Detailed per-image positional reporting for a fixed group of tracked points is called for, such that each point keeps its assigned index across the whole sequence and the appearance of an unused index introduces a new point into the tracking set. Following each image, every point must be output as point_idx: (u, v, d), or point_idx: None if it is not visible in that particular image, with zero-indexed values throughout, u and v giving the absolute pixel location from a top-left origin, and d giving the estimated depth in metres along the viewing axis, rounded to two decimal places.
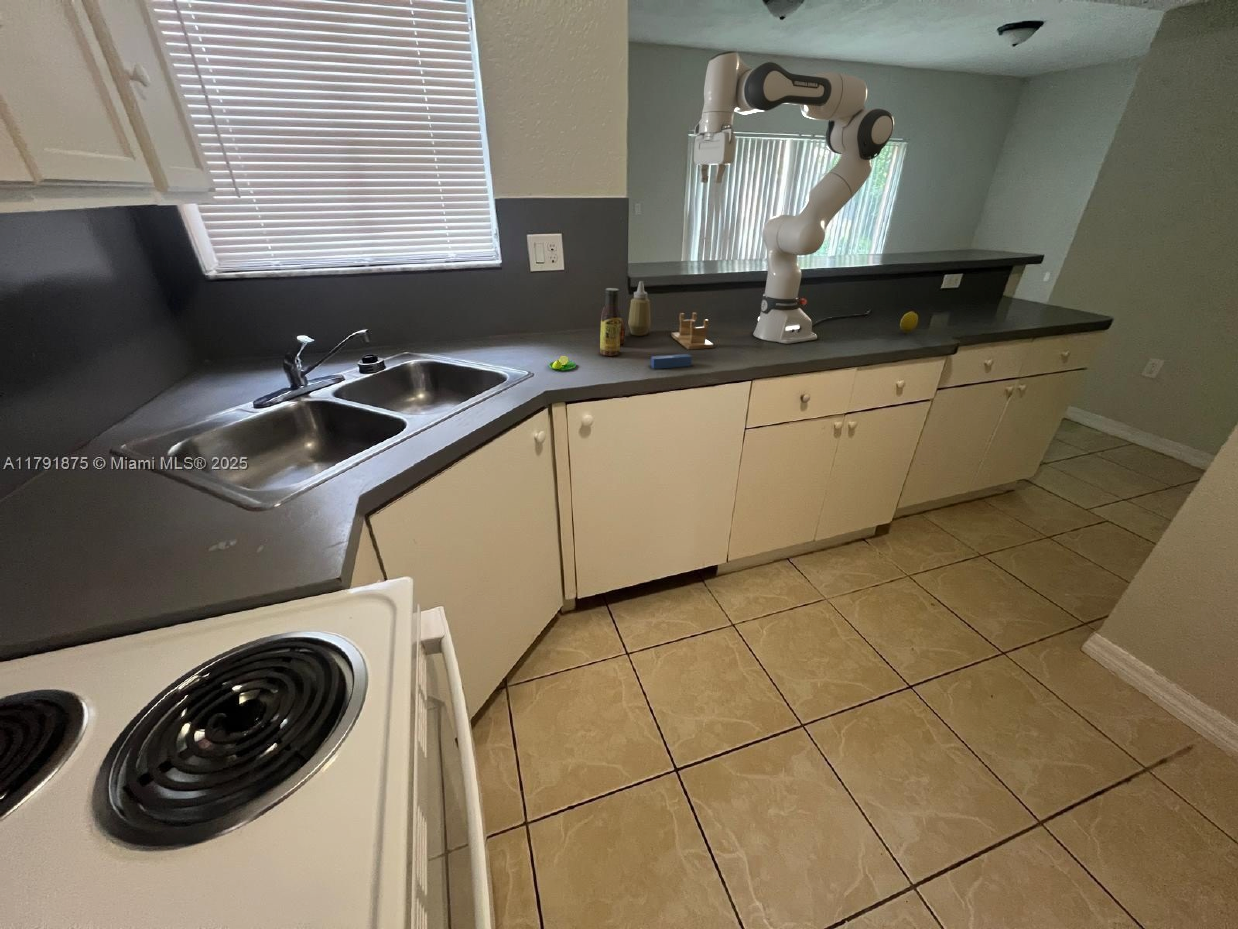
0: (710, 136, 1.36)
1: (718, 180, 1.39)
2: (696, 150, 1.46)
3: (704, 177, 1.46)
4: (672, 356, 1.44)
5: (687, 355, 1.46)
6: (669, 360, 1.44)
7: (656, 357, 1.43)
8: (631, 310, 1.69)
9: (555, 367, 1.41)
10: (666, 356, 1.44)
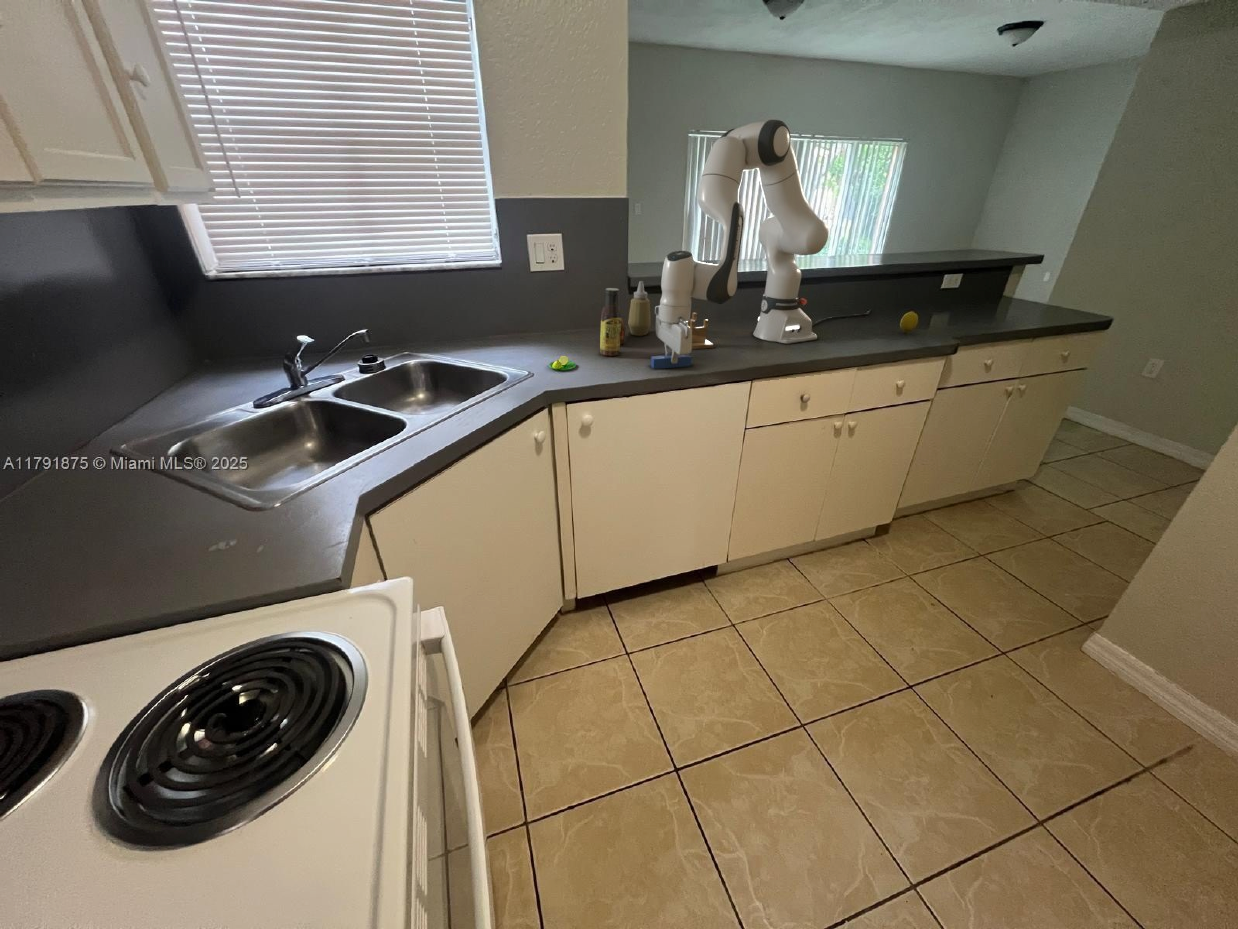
0: (668, 325, 1.37)
1: (674, 361, 1.43)
2: (657, 326, 1.47)
3: None
4: None
5: (687, 355, 1.46)
6: (669, 360, 1.44)
7: (656, 357, 1.43)
8: (631, 310, 1.69)
9: (555, 367, 1.41)
10: (666, 356, 1.44)
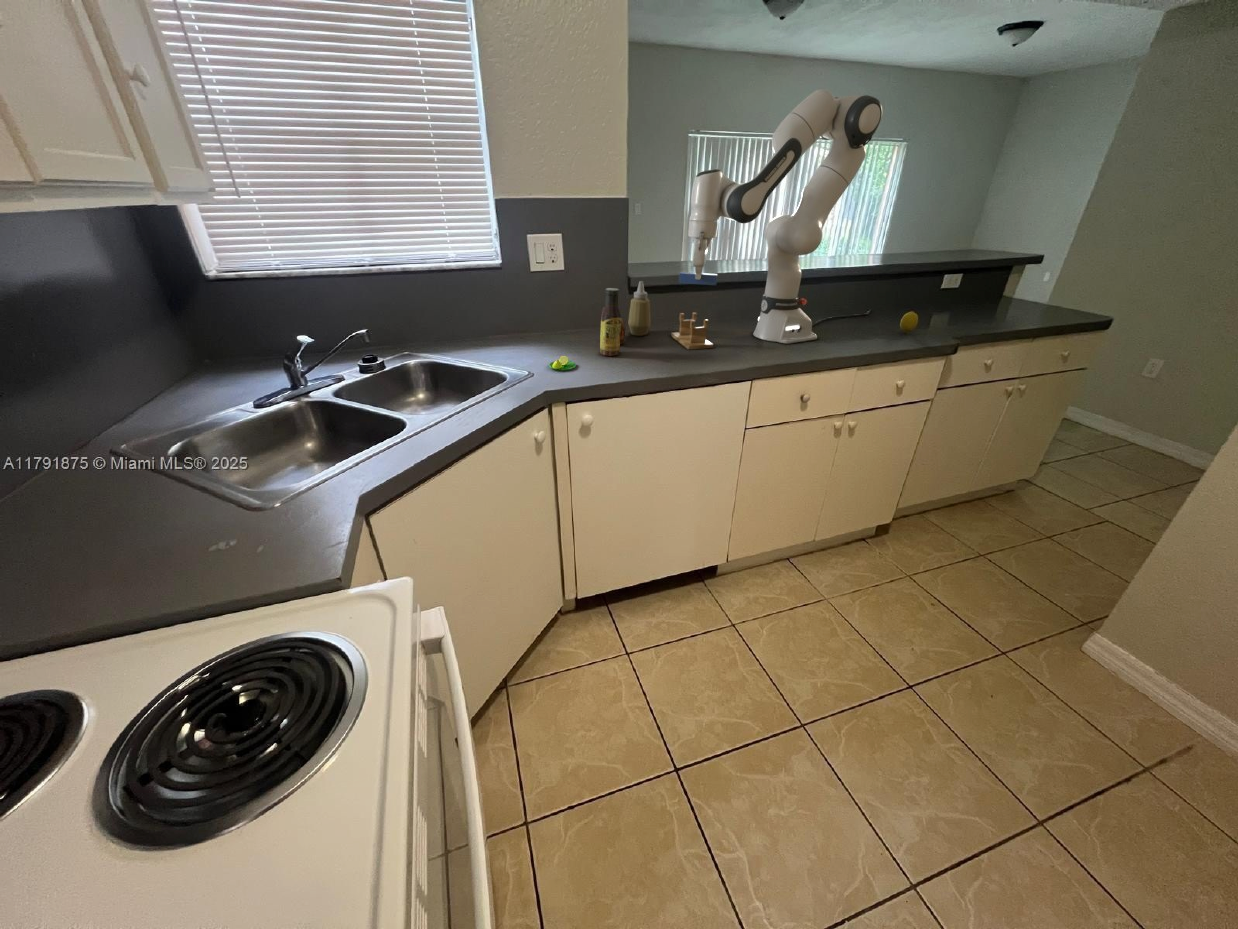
0: (693, 240, 1.50)
1: (697, 277, 1.54)
2: None
3: None
4: None
5: (714, 274, 1.55)
6: (694, 276, 1.56)
7: (683, 272, 1.57)
8: (631, 310, 1.69)
9: (555, 367, 1.41)
10: (693, 273, 1.57)
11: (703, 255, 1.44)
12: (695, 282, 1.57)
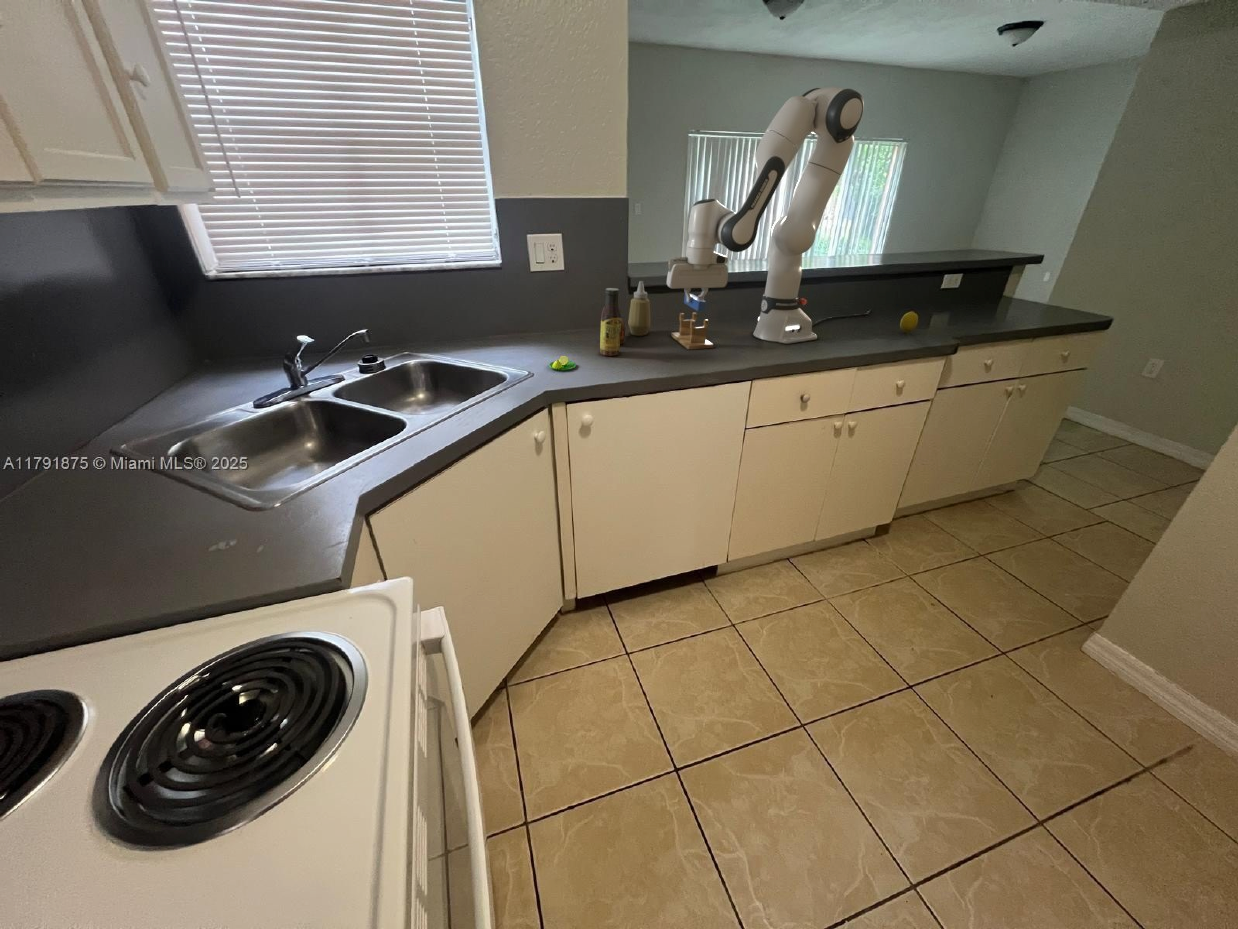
0: None
1: (687, 299, 1.60)
2: None
3: None
4: (694, 297, 1.60)
5: (700, 300, 1.56)
6: None
7: None
8: (631, 310, 1.69)
9: (555, 367, 1.41)
10: (693, 296, 1.62)
11: (670, 277, 1.54)
12: (689, 305, 1.62)
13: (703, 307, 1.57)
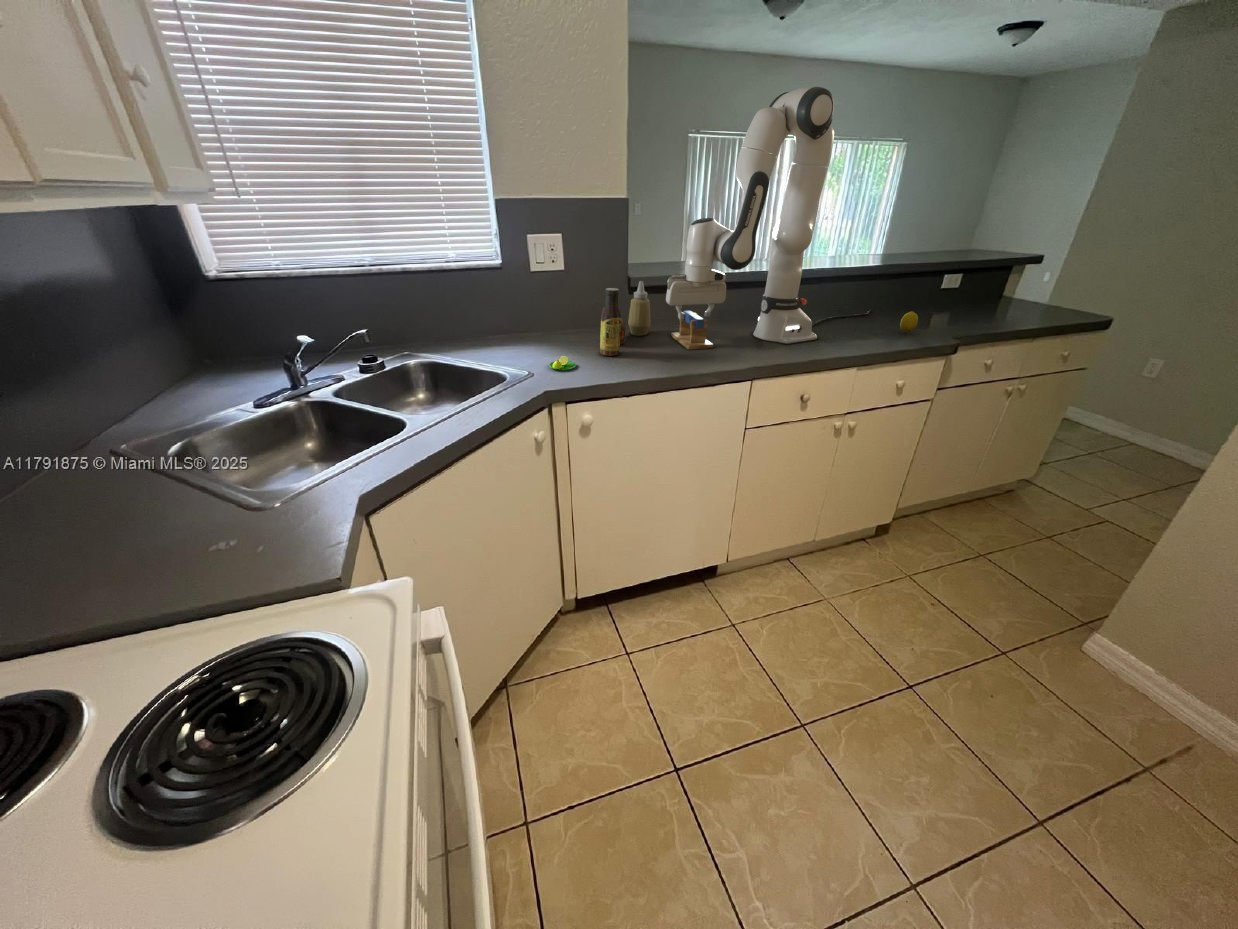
0: None
1: (678, 316, 1.62)
2: None
3: (704, 312, 1.64)
4: (693, 315, 1.63)
5: (699, 318, 1.59)
6: (688, 316, 1.64)
7: (687, 311, 1.67)
8: (631, 310, 1.69)
9: (555, 367, 1.41)
10: (691, 313, 1.65)
11: (669, 294, 1.56)
12: (688, 322, 1.65)
13: (701, 325, 1.60)
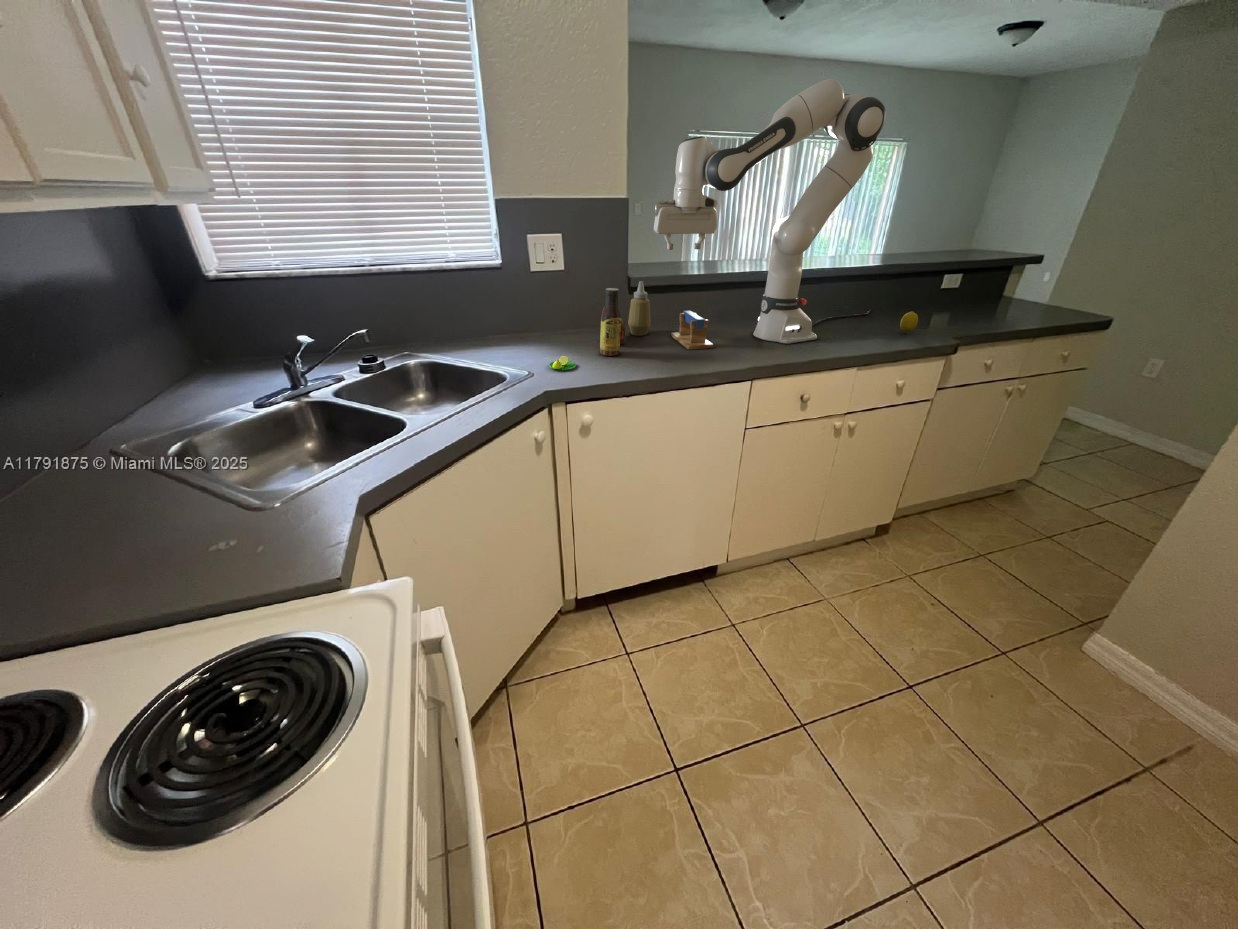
0: None
1: (667, 247, 1.54)
2: None
3: (695, 244, 1.56)
4: (693, 315, 1.63)
5: (699, 318, 1.59)
6: (688, 316, 1.64)
7: (687, 311, 1.67)
8: (631, 310, 1.69)
9: (555, 367, 1.41)
10: (691, 313, 1.65)
11: (657, 221, 1.48)
12: (688, 322, 1.65)
13: (701, 325, 1.60)
